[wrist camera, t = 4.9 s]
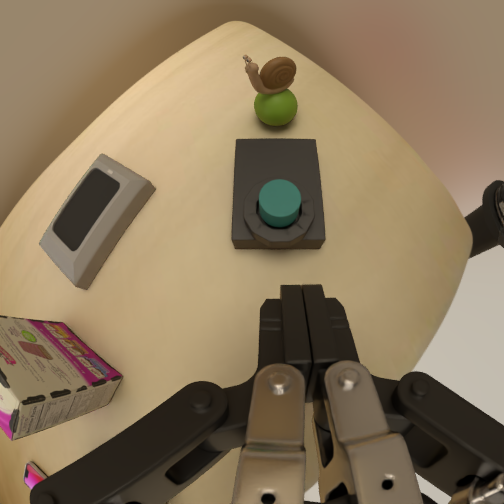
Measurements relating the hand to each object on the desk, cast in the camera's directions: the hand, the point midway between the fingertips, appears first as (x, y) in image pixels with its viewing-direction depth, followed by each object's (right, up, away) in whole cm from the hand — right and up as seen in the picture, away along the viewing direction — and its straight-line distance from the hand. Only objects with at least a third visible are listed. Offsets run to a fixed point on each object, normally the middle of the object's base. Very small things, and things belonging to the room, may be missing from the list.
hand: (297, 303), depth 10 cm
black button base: (+1, +8, +21) cm, 22 cm away
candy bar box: (-22, -11, +17) cm, 30 cm away
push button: (+1, +6, +16) cm, 17 cm away
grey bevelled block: (-22, +6, +22) cm, 31 cm away
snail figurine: (+1, +19, +24) cm, 31 cm away
